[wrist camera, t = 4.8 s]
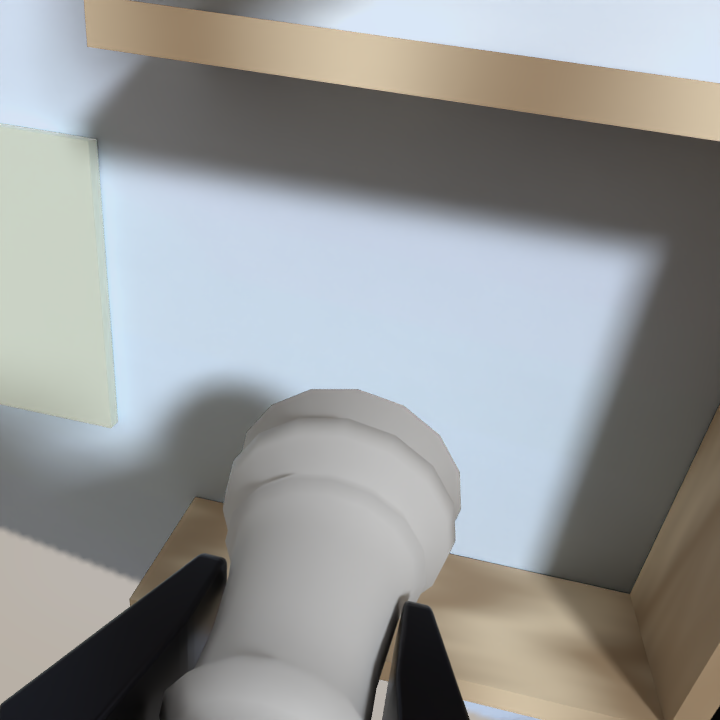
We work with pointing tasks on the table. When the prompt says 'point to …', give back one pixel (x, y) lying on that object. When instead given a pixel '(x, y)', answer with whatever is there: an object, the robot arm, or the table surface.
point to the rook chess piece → (321, 558)
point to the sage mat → (54, 278)
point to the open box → (460, 574)
